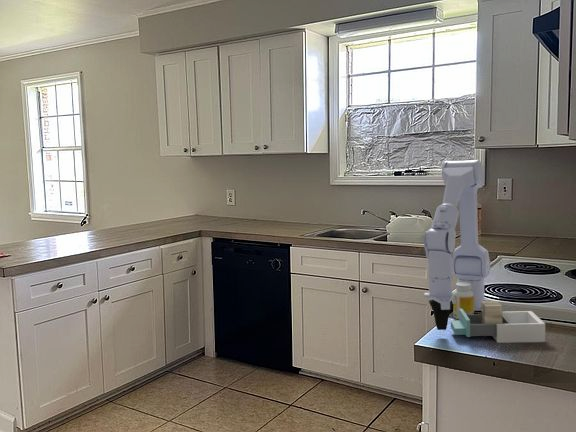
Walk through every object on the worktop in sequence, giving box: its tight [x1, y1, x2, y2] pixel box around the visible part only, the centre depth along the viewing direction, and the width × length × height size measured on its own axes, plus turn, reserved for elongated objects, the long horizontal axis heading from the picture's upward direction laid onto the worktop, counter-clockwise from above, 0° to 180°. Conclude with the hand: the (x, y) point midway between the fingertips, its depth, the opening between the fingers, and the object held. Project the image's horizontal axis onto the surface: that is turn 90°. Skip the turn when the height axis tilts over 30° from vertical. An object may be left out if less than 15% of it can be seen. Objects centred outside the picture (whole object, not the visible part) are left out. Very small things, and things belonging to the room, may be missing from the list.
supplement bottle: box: [452, 282, 475, 320], centre depth 149 cm, size 5×5×10 cm
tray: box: [450, 309, 510, 338], centre depth 135 cm, size 9×13×4 cm
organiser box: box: [492, 310, 546, 344], centre depth 134 cm, size 10×11×4 cm
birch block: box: [481, 300, 503, 324], centre depth 135 cm, size 4×4×6 cm
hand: (441, 328), depth 136 cm, fingers closed
